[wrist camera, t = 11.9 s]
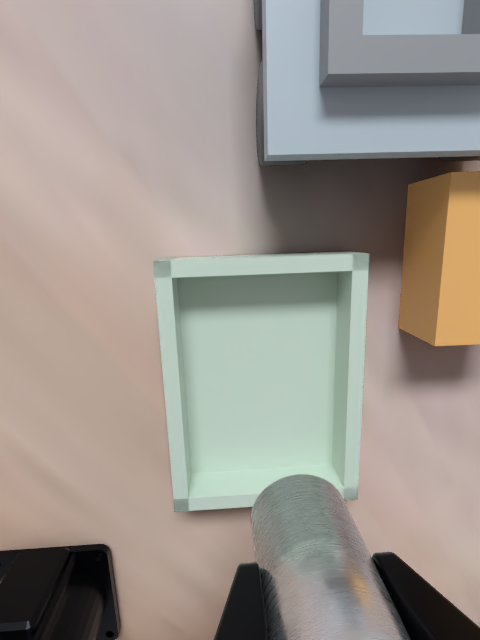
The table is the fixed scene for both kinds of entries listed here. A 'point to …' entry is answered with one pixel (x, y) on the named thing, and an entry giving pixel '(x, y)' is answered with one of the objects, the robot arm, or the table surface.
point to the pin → (317, 566)
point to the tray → (261, 372)
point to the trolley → (368, 80)
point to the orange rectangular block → (442, 260)
